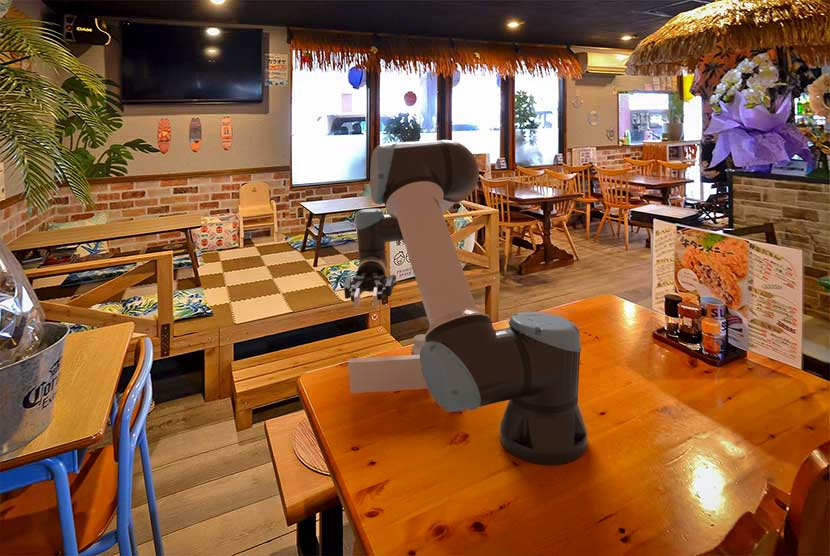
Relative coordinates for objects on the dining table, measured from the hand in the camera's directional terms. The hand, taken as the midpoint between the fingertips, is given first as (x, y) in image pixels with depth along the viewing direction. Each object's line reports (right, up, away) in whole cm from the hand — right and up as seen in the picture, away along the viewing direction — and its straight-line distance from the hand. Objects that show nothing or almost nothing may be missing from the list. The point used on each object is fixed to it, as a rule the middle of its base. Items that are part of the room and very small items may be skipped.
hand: (365, 302), depth 107 cm
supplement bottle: (+13, -18, +9) cm, 24 cm away
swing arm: (+7, -18, -2) cm, 20 cm away
